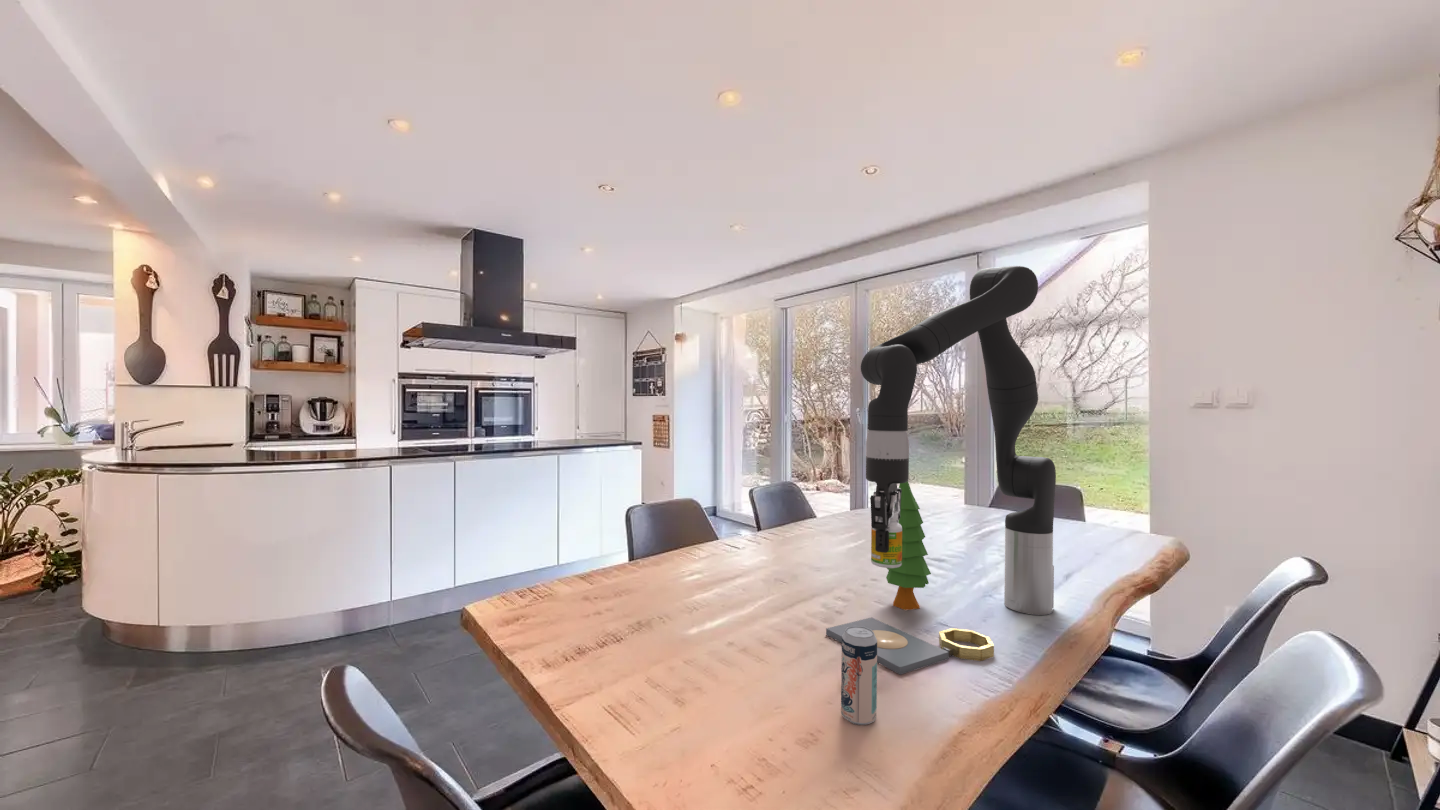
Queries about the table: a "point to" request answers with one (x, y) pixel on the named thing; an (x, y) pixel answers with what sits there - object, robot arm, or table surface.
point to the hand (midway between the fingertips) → (886, 547)
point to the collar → (966, 651)
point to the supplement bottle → (895, 546)
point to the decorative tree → (909, 553)
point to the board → (895, 646)
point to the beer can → (859, 675)
